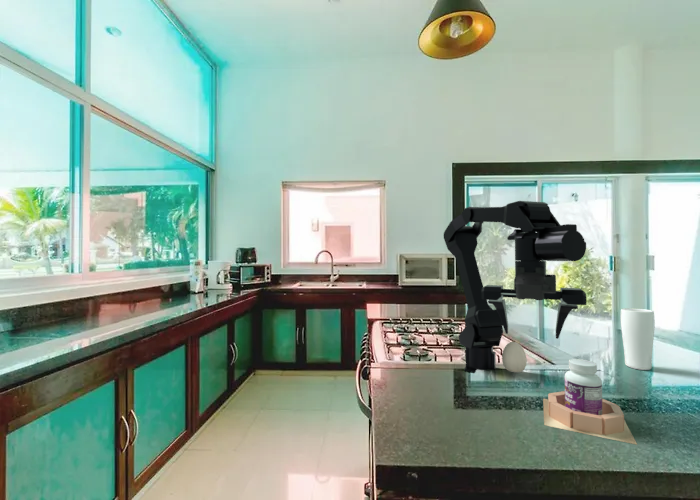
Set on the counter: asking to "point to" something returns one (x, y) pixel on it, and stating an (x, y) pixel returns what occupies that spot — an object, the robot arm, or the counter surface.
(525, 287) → the robot arm
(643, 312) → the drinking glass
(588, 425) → the collar
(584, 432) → the board
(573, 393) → the pill bottle
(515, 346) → the egg
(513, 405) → the counter surface
